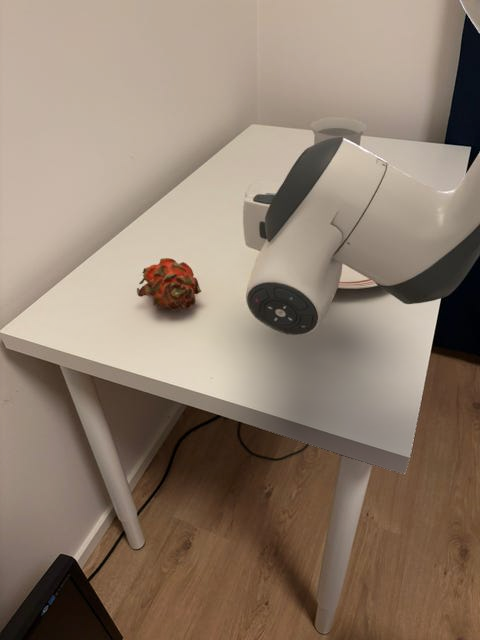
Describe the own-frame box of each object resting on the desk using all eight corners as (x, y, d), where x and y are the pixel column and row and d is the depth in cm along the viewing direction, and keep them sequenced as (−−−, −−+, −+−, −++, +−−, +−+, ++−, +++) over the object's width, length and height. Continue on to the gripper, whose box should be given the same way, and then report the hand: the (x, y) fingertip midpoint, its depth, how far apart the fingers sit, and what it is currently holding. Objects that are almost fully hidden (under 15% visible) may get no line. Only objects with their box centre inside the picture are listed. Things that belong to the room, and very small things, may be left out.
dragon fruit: (194, 330, 77) (152, 307, 85) (222, 284, 77) (177, 265, 85) (159, 308, 70) (117, 285, 78) (189, 258, 71) (144, 240, 79)
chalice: (354, 262, 69) (371, 134, 58) (306, 263, 69) (314, 136, 58) (346, 237, 75) (360, 116, 63) (302, 238, 75) (308, 117, 64)
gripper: (412, 216, 52) (417, 167, 62) (230, 197, 57) (263, 155, 67) (401, 266, 56) (408, 212, 66) (233, 244, 61) (263, 197, 71)
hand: (333, 183), depth 66 cm, fingers closed on chalice, 5 cm apart
